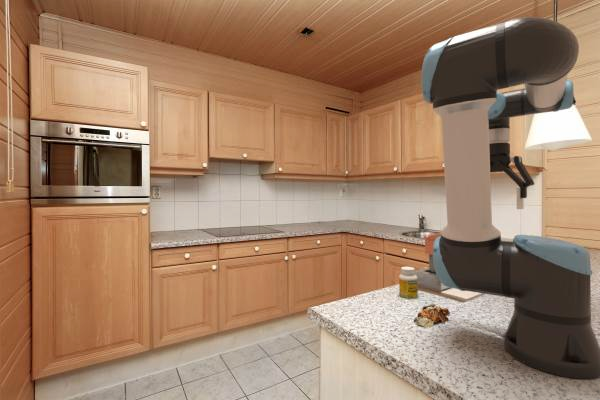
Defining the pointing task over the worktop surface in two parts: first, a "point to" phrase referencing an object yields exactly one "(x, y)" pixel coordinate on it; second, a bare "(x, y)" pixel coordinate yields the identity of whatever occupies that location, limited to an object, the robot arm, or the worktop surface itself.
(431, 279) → the eye block
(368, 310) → the worktop surface
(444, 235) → the robot arm
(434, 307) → the brown mottled lumpy part
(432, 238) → the copper link bar
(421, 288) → the board
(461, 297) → the mat
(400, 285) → the supplement bottle
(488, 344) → the worktop surface
